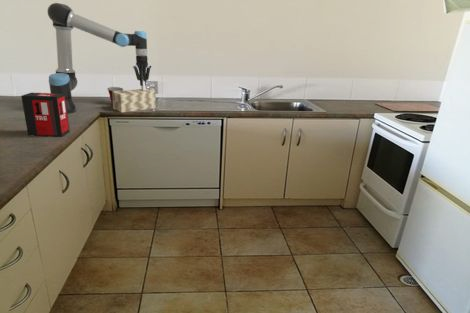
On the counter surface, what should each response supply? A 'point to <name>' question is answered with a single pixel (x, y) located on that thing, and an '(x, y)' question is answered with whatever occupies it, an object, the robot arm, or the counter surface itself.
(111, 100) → the plastic cup
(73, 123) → the counter surface
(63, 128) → the cleaning product box
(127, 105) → the collar block
